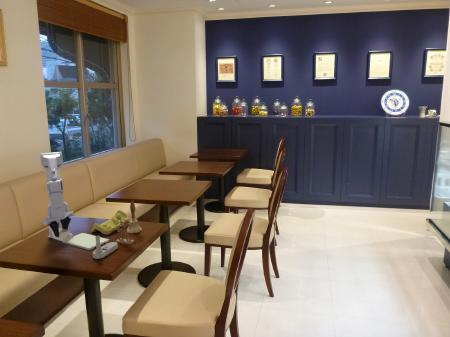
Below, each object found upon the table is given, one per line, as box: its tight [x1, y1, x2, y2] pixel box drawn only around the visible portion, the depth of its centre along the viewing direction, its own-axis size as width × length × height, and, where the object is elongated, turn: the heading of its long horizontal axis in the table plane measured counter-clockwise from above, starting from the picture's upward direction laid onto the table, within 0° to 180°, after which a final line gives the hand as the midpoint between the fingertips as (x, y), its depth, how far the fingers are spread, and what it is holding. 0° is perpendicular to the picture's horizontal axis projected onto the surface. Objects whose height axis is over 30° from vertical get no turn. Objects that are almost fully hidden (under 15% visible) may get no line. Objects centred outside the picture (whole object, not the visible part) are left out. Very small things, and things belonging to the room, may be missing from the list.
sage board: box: [61, 232, 110, 251], centre depth 185 cm, size 20×12×1 cm, turn 58°
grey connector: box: [52, 228, 75, 242], centre depth 170 cm, size 13×4×4 cm, turn 58°
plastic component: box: [91, 209, 129, 235], centre depth 204 cm, size 20×7×10 cm
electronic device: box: [92, 235, 119, 260], centre depth 171 cm, size 5×10×15 cm
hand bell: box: [127, 200, 143, 234], centre depth 198 cm, size 8×8×16 cm
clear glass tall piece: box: [115, 219, 136, 246], centre depth 182 cm, size 9×4×12 cm, turn 69°
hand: (61, 235), depth 171 cm, fingers closed on grey connector, 4 cm apart
